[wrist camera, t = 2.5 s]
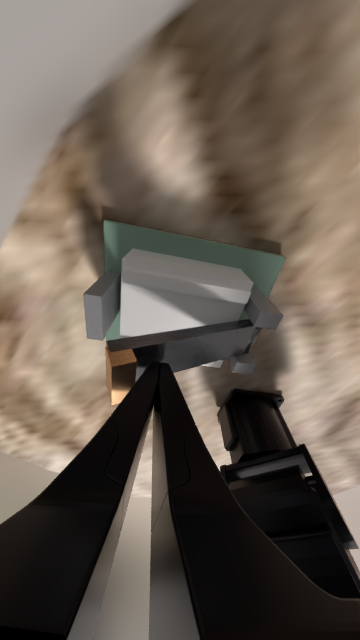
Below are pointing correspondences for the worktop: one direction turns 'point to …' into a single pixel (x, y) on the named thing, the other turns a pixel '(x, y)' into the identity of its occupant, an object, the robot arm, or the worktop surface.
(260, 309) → the heatsink board
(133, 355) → the grey and brown bar
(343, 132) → the worktop surface
